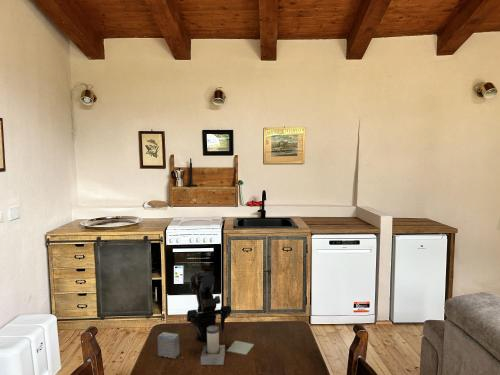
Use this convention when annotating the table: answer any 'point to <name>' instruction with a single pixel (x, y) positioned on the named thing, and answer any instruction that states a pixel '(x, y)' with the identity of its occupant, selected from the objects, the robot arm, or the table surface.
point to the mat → (240, 347)
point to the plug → (213, 339)
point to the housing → (213, 356)
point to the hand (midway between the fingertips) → (211, 333)
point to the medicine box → (168, 345)
